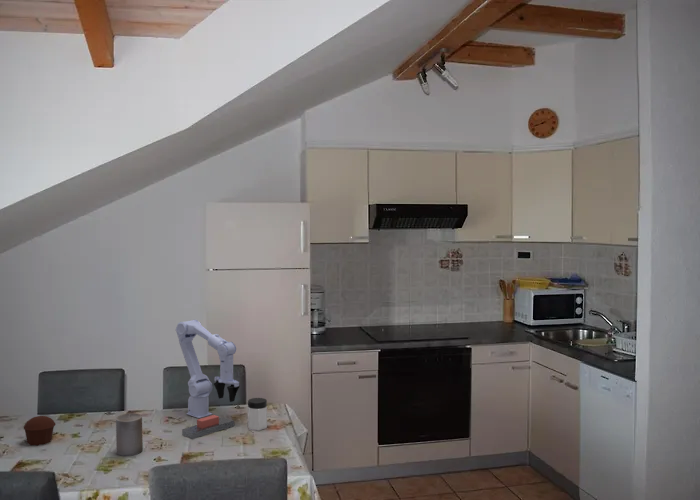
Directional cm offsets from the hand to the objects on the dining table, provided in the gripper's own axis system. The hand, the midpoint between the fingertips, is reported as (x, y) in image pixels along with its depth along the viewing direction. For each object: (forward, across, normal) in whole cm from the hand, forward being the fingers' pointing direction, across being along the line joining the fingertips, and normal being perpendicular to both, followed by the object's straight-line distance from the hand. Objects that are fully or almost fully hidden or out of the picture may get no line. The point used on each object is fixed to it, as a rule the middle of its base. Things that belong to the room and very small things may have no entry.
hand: (226, 399), depth 291 cm
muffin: (+10, -35, -67) cm, 76 cm away
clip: (+9, +4, -13) cm, 17 cm away
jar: (+10, +16, +4) cm, 19 cm away
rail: (+10, +4, -13) cm, 17 cm away
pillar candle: (+10, +1, -49) cm, 50 cm away
